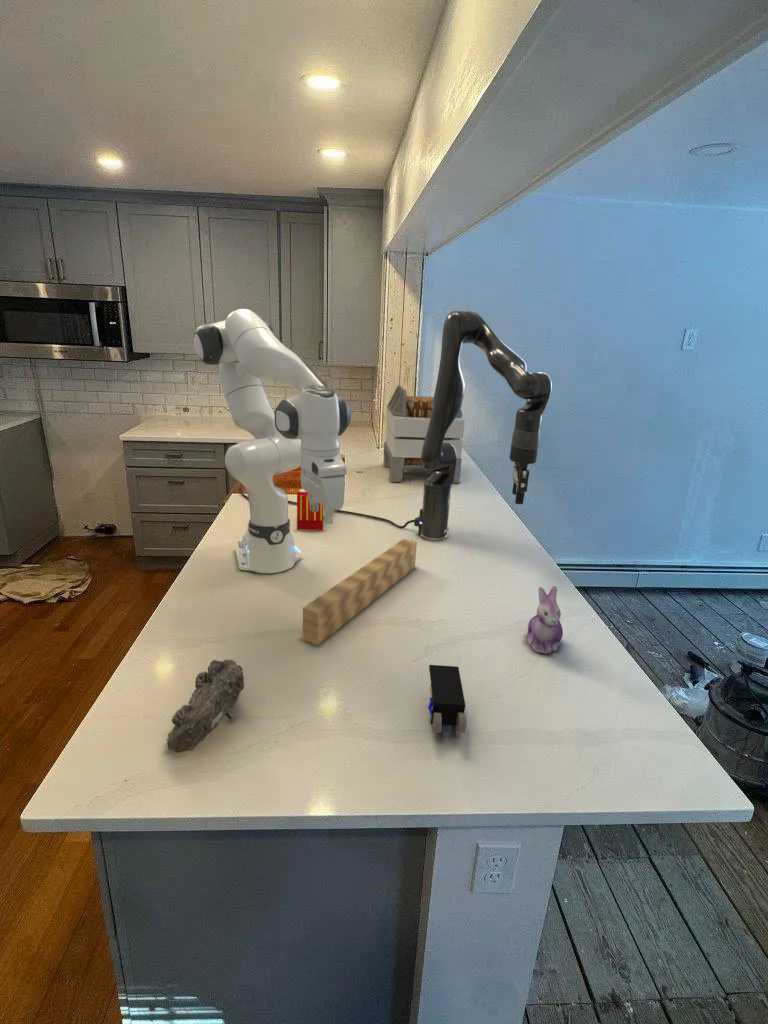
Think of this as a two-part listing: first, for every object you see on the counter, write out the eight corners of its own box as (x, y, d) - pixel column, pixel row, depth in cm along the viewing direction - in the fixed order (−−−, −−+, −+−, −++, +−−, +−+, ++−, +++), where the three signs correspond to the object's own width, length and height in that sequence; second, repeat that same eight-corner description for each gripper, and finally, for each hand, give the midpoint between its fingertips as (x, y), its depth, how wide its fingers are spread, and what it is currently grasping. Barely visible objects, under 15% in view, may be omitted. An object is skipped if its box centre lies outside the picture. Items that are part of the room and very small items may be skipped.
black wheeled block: (466, 750, 104) (456, 690, 118) (471, 720, 101) (459, 662, 115) (430, 749, 104) (423, 690, 118) (433, 719, 101) (426, 661, 114)
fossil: (192, 660, 117) (244, 628, 112) (224, 691, 120) (276, 661, 115) (142, 746, 98) (202, 712, 93) (182, 779, 101) (242, 748, 96)
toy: (332, 480, 224) (326, 494, 194) (331, 513, 226) (326, 531, 197) (301, 479, 223) (291, 493, 194) (301, 513, 226) (291, 531, 197)
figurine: (544, 659, 130) (553, 602, 125) (515, 637, 139) (522, 582, 134) (574, 650, 135) (584, 594, 130) (544, 629, 143) (552, 575, 138)
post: (402, 563, 177) (403, 538, 174) (415, 567, 175) (416, 542, 172) (302, 639, 134) (302, 608, 132) (317, 645, 132) (317, 613, 130)
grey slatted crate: (382, 463, 289) (386, 382, 275) (445, 464, 293) (451, 384, 279) (390, 482, 257) (394, 392, 243) (460, 483, 261) (468, 394, 247)
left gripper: (293, 450, 136) (294, 505, 140) (321, 471, 118) (322, 533, 123) (318, 449, 138) (319, 502, 143) (349, 469, 121) (349, 529, 126)
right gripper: (509, 438, 167) (502, 490, 173) (514, 449, 154) (506, 506, 159) (534, 440, 166) (527, 492, 172) (542, 452, 153) (533, 508, 159)
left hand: (320, 517), depth 133 cm, fingers open, 8 cm apart
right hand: (517, 499), depth 166 cm, fingers open, 8 cm apart
